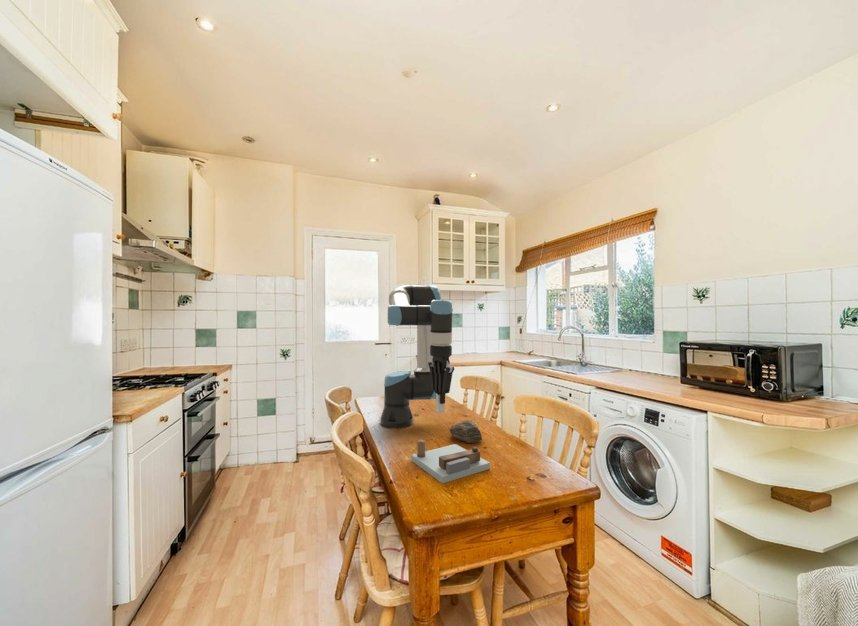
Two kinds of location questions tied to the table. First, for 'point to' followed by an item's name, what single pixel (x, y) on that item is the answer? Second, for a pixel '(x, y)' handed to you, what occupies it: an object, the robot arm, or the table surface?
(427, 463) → the board
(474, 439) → the stone
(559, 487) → the table surface
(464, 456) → the leg
